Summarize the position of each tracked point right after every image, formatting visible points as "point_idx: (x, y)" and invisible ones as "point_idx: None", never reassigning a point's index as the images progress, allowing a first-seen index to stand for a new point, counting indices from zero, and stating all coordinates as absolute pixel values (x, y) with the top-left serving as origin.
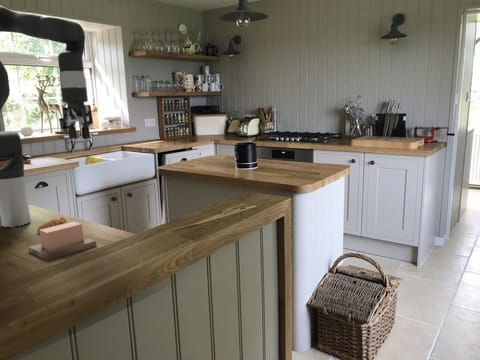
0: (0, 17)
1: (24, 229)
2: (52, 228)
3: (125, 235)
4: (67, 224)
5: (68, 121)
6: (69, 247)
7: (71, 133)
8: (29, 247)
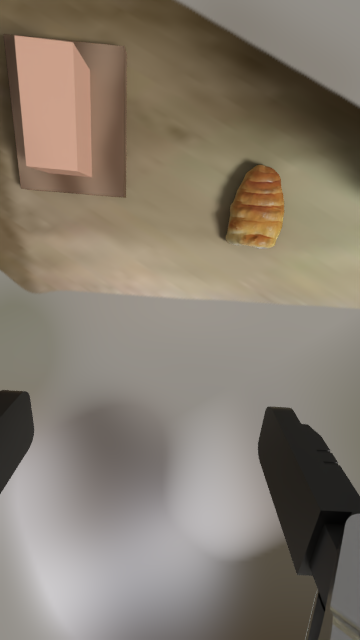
0: None
1: (346, 170)
2: (52, 80)
3: (47, 276)
4: (58, 138)
5: (331, 622)
6: (21, 114)
7: (281, 453)
8: (115, 45)
